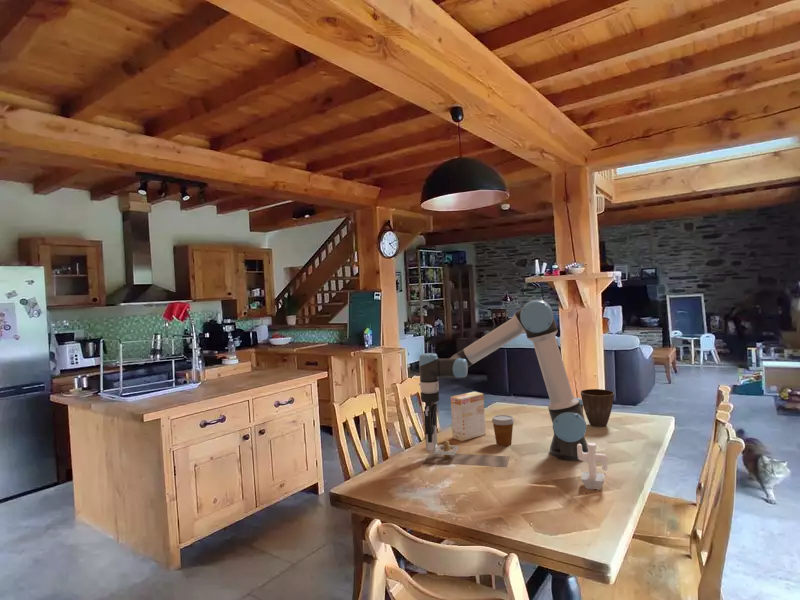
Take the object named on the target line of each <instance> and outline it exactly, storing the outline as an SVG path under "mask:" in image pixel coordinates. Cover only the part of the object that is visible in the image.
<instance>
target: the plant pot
mask: <svg viewBox="0 0 800 600" xmlns="http://www.w3.org/2000/svg"><path fill="white" fill-rule="evenodd" d="M580 396H581V399H582V401H583V411H584V412H585V416H586V418H587V421H588V423H589V425H590V427H594V428H605V427H607V426H608V422H609V420H610V416H611V413H612V408H613V403H614V397H615V392H614V391H611V390H610V389H609V390H608V389H601V388H600V389H598V388H597V389H596V388H590V389H582V390H580Z"/></svg>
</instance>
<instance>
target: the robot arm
mask: <svg viewBox="0 0 800 600" xmlns="http://www.w3.org/2000/svg"><path fill="white" fill-rule="evenodd" d="M558 331H559V329H558V326H557V323H556V319H555V317H554V310H553V309H552V307H551V305H550V303H548V302H547V301H546V300H544V299H540V298H536V299H532V300H530V301H528V302H526V303H525V304H524V305H523V306H522V308H521V309H519V310H518V311H516V312H514V314H513V317H511V318H509V320H507V321H506V322H504V323H502V324H501V325H499V326H497V327H496V328H494V329H493V330H491V331H490V332H488V333H487V334H484V336H483V335H482V336H481V338H479V339H477V340H475V341H473V342H472V343H471V344H469V345H468V346H466V347H464V348H463V349H461V350H460V351H458V352H456V353H455V354H453V355H452V356H451V357H449V358H439V357H438V354H437V353H434V352H428V353H426V352H425V353H421V354H420V355H419V358H418V359H419V361H418V362H419V363H418V364H419V365H418V367H419V368H418V370H419V383H418V386H420V391H421V392H420V401H421V402H422V403H425V405H424V410H423V418H424V431H425V432H424V435H426V434H427V447H428V450H434V434H433V425H436V426H437V427H438V416H437V415H438V404H437V402H439V400H440V393H439V390H440V389H439V388H440V386H439V385H440V384H439V378H457V379H459V378H466V377H467V376H468V371H469V368H470V367H471V366H472V365H474V364H475V363H477V362H478V361H481V360H482V359H484V358H485V357H487V356H488V355H490V354H492V353H494V352H496V351H497V350H498V349H500V348H502V347H503V346H504V345H507V344H508V343H510V342H511V341H513V340H515V339H516V338H518V337H519V336H521V335H523V334H526V338H527V340H528V341H531V342H532V343H533V348H534V351H535V354H536V357H537V361H538V364H539V368H540V371H541V374H542V377H543V381H544V384H545V388H546V391H547V394H548V398H549V402H550V403H549V404H548V407H547V409H548V412H549V415H550V419H551V422H552V430H553V437H552V440H551V443H550V447H549V454H551V456H553V457H556V459H558V460H564V461H580V460H579V459H578V456H577V445H578V444H581V445H582V451H583V452H585V453H588V449H587V444H588V442H587V440H586V438H585V434H586V432H587V428H588V426H587V422H586V420H585V415H584V406H583V401H582V398H580V397H575V396H574V395H573V392H572V388H571V387H572V386H571V384H570V381H569V378H568V374H567V371H566V368H565V364H564V361H563V357H562V355H561V350H560V348H559V347H560V346H559V345H558V342H557V338H556V335H557V333H558ZM438 431H439V428H437V432H438Z"/></svg>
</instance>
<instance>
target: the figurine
mask: <svg viewBox="0 0 800 600" xmlns="http://www.w3.org/2000/svg"><path fill="white" fill-rule="evenodd" d="M587 449H588V453H585V452H583V451H582V445H581V444H578V445H577V456H578V459H579V460H578V461H583V462H588V471H582V472H581V476H580V481H581V482H582V484H583V486H584V487H585V489H586V490H593V489H597V490H596V491H601V490H602V489H601V488H602V486H603V484H604V482H605V476H606V475H605V474H606V473H602V472H597V463H601V465H602V471H604V472H606V471H608V470H609V469H608V458H607V457H608V456H607V455H606V454H604V453H597V451H596V450H597V444H596V443H595V442H593V441H589V442H587Z"/></svg>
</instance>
